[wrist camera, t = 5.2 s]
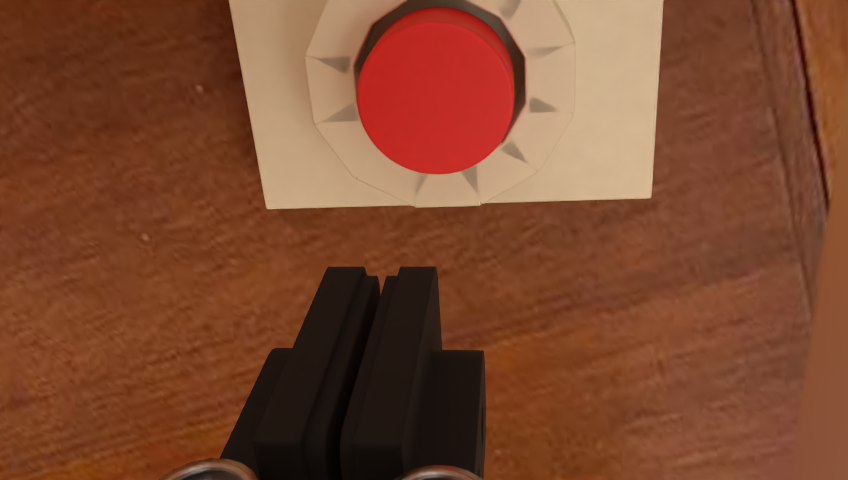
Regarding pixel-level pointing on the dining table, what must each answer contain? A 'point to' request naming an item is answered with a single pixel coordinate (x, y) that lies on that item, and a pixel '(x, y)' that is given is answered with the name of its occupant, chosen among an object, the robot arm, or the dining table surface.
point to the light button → (437, 91)
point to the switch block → (531, 122)
